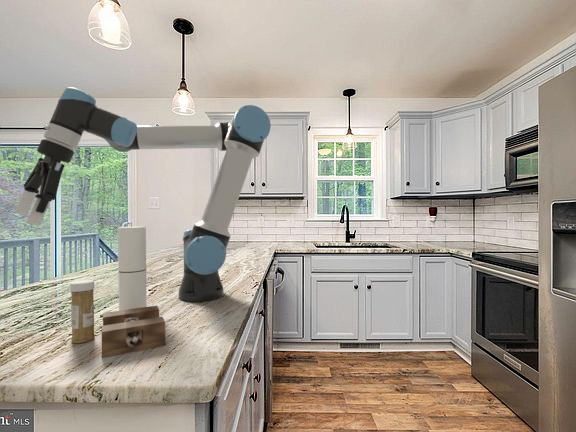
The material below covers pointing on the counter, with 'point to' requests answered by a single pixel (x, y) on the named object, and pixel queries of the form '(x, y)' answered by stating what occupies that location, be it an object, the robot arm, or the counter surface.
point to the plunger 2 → (134, 336)
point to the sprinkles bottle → (82, 311)
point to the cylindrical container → (132, 267)
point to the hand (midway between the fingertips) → (26, 219)
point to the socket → (132, 330)
